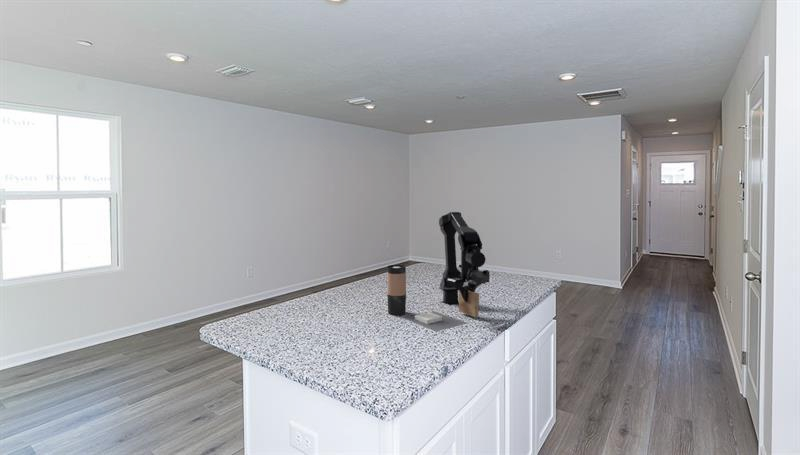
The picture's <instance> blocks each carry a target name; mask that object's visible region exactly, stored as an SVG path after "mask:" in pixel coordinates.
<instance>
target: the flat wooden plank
mask: <svg viewBox="0 0 800 455" xmlns="http://www.w3.org/2000/svg"><path fill="white" fill-rule="evenodd" d="M458 302H459V304H458V312H460V313H462V314H465V315H468V316H471V317H474V318H476V317H479V312H480V311H479V308H480V304H479V302H480V293H479V292H476V291H475V292H471V291H468V300H467V302H465V301H464V299H463V297H462V295H461V292H460V290H458Z"/></svg>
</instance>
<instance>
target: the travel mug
mask: <svg viewBox="0 0 800 455" xmlns="http://www.w3.org/2000/svg"><path fill="white" fill-rule="evenodd" d="M406 269H407V268H406V265H403V264H391V265H390V264H389V265H387V268H386V270H387V272H386V274H387V277H386V278H387V279H386V280H387V281H386V283H387V286H386V287H387V290H386V291H387V292H386V294H387V312H388V315H390V316H395V317H399V316H404V315H406V309H407V307H406V305H407V304H406V303H407V282H406V281H407V277H406V276H407V274H406V273H407V271H406Z"/></svg>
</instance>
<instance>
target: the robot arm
mask: <svg viewBox="0 0 800 455" xmlns="http://www.w3.org/2000/svg"><path fill="white" fill-rule="evenodd" d="M438 225H439V228H440V231H441V233H442V235H443V236H444V253H445V254H444V255H445V269H444V271H443V272H442V278H441V281H440V283H439V290H440V291H442V292H443V293H442V296H443V298H442V300H443V301H440V303H443V304H445V305H449V306H452V305H459V290H460V292H461V295H462V297H463V299H464V301H465V302H467V300H468V291H471V292H475V293H476V290H477V288H478V287H480V286H481V285H482V284H483V285H485V284H486V283H489V282H490V277H491V276H490V274H491V273H490V271H489V270H488V269H486V270H485V269H484V270H480V269H479V268H481V267H483V265H485V263H486V256H485V254H484V253H483V252H481V250H483V242H482V241H481V237H480V235H479V233H478V232H477V230H476V229H474V228H472V227H470V226H469V225H468V224H467V222H466V221H465V220H464V218H463V216H462V213H461V212H460V211H450V212H448V213H447V214H444V215H441V217H440V218H439V219H438ZM456 234H458V236H457V240H458V242H457V243H458V244H459V246H460V253H461V254H460V264H459V265H458V267H457V251H456ZM458 268H460V269H461V270H459V269H458Z"/></svg>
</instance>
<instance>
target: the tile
mask: <svg viewBox="0 0 800 455" xmlns="http://www.w3.org/2000/svg"><path fill="white" fill-rule="evenodd" d="M427 312H428V313H427ZM427 312H424V314H423V313H419V315H418V314H415V320H418V321H420V322H423V323H426V324H429V323H434V322H438V321H442V316H439V315H436V314H433V313H430V312H431V311H427Z"/></svg>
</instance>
